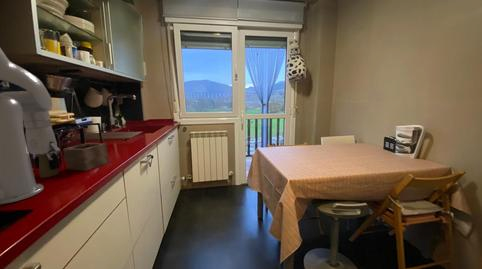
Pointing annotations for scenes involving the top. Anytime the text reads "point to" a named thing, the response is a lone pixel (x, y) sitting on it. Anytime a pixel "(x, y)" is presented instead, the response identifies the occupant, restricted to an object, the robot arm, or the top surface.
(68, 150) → the walnut box
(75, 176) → the top surface
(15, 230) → the top surface
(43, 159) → the cork
